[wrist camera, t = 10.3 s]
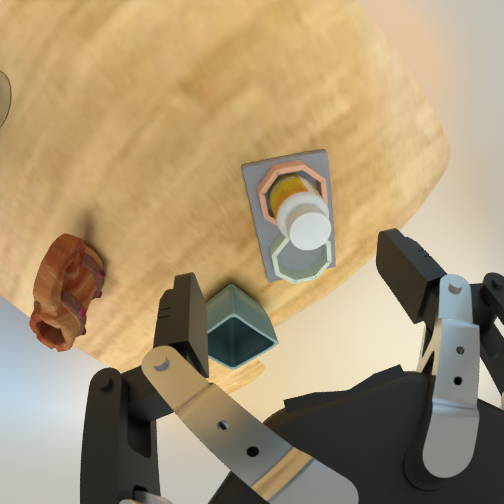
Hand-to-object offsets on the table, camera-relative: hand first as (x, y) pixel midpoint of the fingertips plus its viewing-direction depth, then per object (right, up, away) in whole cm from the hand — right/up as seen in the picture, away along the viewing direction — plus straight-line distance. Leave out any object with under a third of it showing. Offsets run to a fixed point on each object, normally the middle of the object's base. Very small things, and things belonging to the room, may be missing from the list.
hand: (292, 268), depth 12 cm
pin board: (+4, +5, +25) cm, 26 cm away
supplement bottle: (+3, +8, +22) cm, 23 cm away
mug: (-25, +1, +25) cm, 35 cm away
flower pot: (-5, -7, +32) cm, 33 cm away
